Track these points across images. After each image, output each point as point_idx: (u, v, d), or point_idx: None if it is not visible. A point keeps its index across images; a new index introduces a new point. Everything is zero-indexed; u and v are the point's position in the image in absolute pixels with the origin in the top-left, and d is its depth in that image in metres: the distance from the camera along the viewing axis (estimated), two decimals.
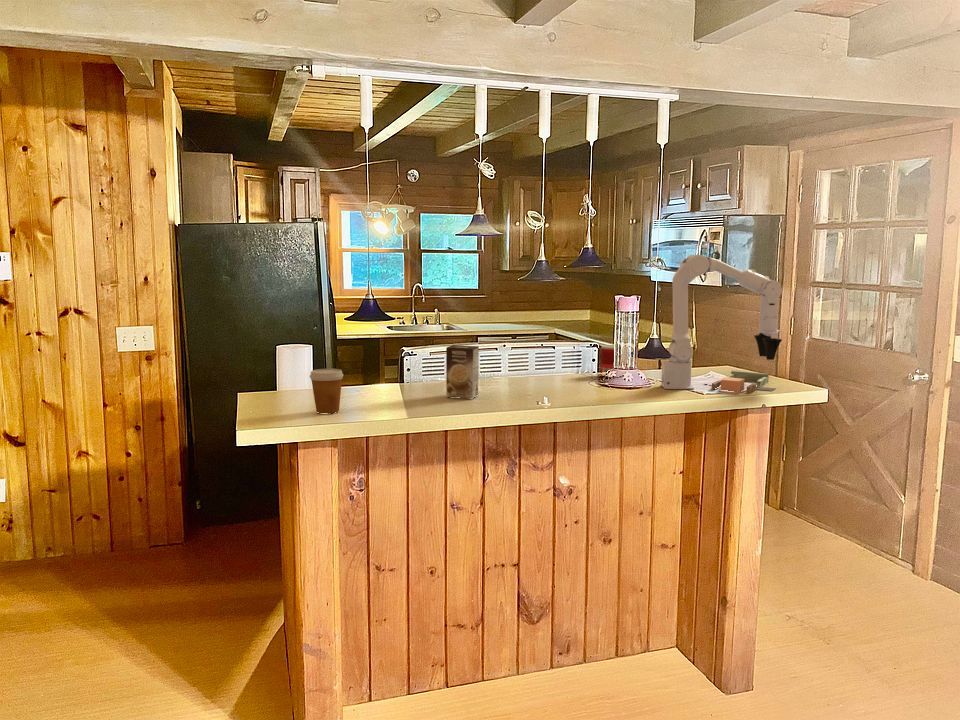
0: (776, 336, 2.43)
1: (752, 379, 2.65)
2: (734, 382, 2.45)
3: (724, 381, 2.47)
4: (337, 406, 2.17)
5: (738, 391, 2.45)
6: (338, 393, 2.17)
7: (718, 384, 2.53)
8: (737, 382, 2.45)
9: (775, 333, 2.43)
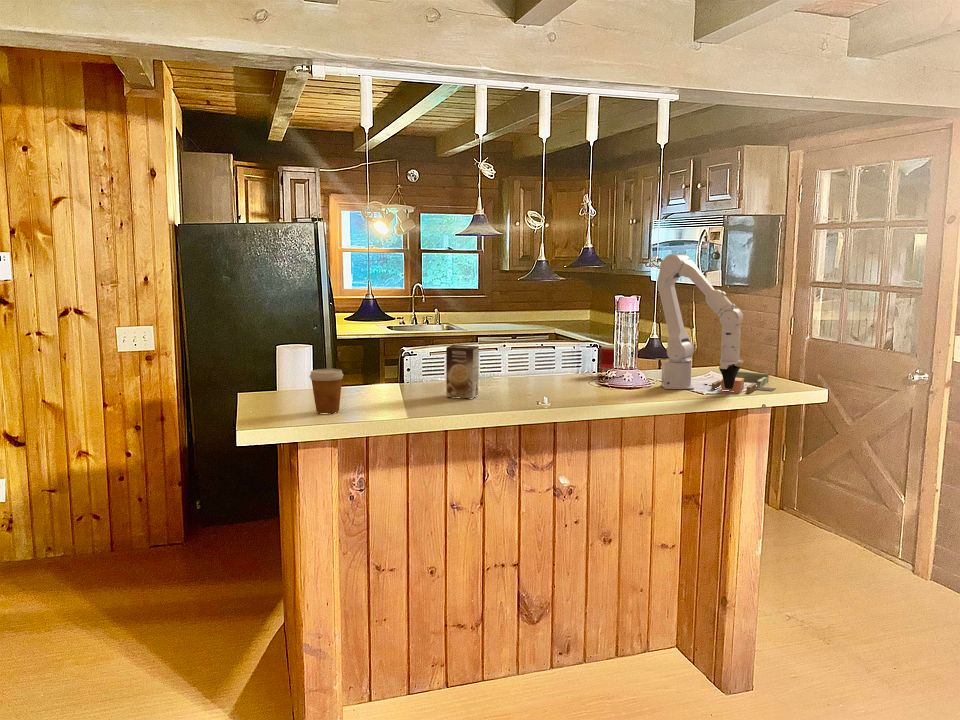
0: (724, 367, 2.38)
1: (752, 379, 2.65)
2: (735, 382, 2.45)
3: None
4: (337, 406, 2.17)
5: (739, 391, 2.45)
6: (338, 393, 2.17)
7: (718, 384, 2.53)
8: (738, 382, 2.45)
9: (723, 363, 2.38)
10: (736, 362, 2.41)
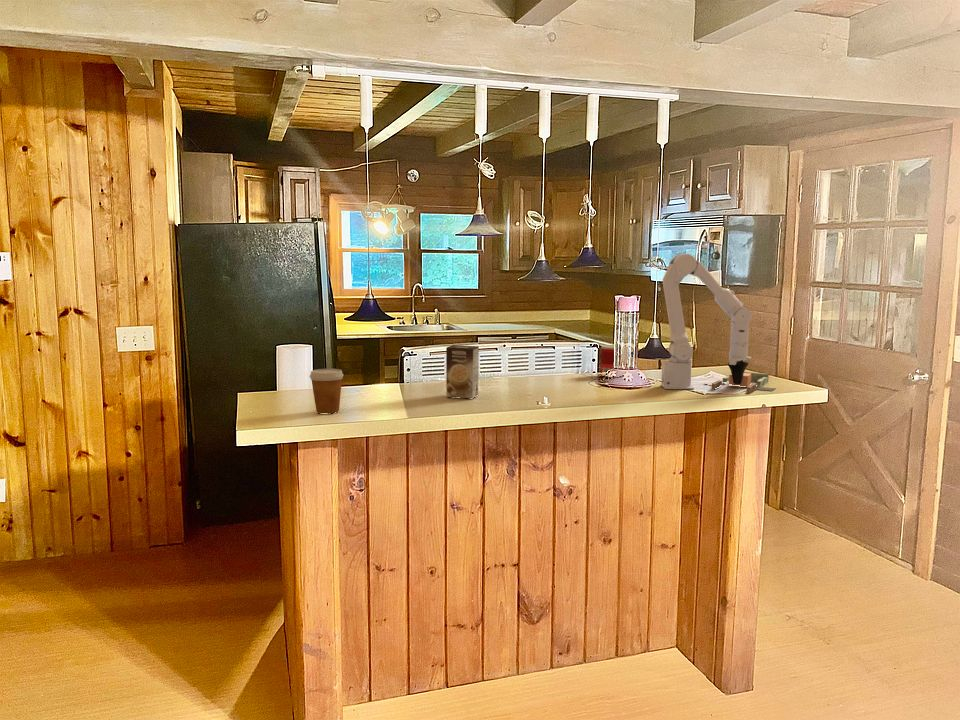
0: (733, 363, 2.46)
1: (752, 379, 2.65)
2: None
3: None
4: (337, 406, 2.17)
5: (746, 385, 2.53)
6: (338, 393, 2.17)
7: (718, 384, 2.53)
8: (745, 377, 2.53)
9: (732, 359, 2.46)
10: (744, 358, 2.49)
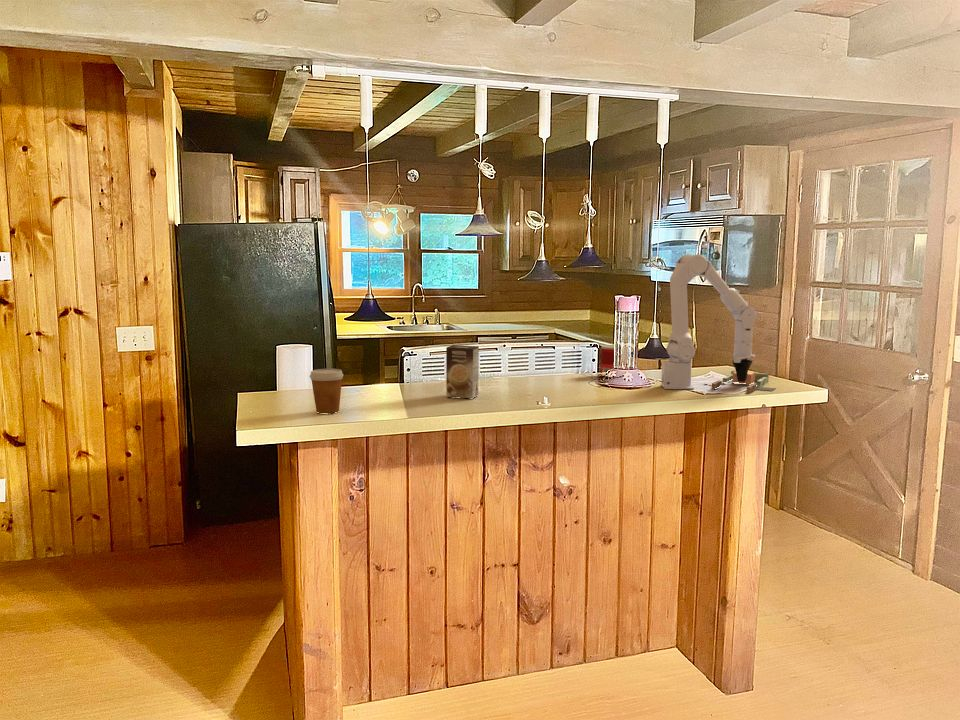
0: (738, 360, 2.50)
1: None
2: None
3: (736, 374, 2.60)
4: (337, 406, 2.17)
5: None
6: (338, 393, 2.17)
7: (718, 384, 2.53)
8: (749, 375, 2.58)
9: (737, 357, 2.51)
10: (749, 356, 2.54)
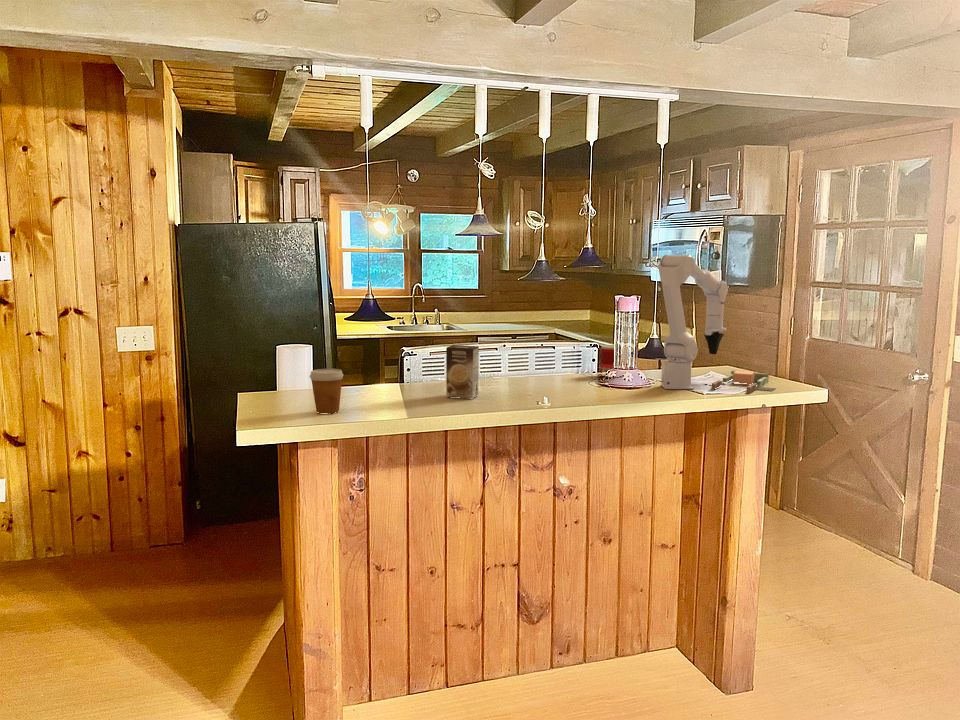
0: (709, 333, 2.59)
1: None
2: (746, 375, 2.58)
3: (737, 374, 2.60)
4: (337, 406, 2.17)
5: None
6: (338, 393, 2.17)
7: (718, 384, 2.53)
8: (749, 375, 2.58)
9: (708, 330, 2.59)
10: (720, 329, 2.62)
